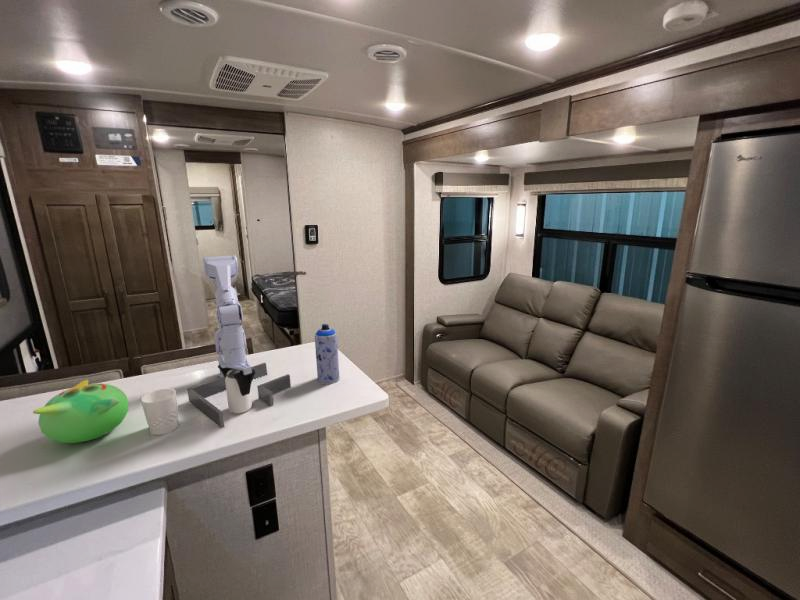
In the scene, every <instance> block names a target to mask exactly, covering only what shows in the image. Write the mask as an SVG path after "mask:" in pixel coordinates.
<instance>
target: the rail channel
mask: <svg viewBox="0 0 800 600" xmlns="http://www.w3.org/2000/svg"><path fill="white" fill-rule="evenodd" d="M252 369H253V370H255V375H254V377H253V379H255V380H257V379H259V378H258V377H260V378H263V377H265V375H266V376H267V375H268V370H267V363H266V362H262V363H260V364H257V365H253V366H251V370H252ZM262 376H263V377H262ZM256 378H257V379H256ZM253 379H252V381H254V380H253ZM291 385H292V383H291V376H290V374H289V373H287V374H285V375H282V376H279V377H278V378H275V379H272V380H269V381H267V382H263V383H261V384H259V385H256V387H257V395H258V400H260V401H261V402H262V403H265V404H266V405H268V406H269V407H272V406H274V397H273V396H274V395H276V394H279V393H281V392H283V391H286V390H287V389H290V388H292V386H291ZM224 390H225V391H226V383H225V377H218V378H216V379H213V380H209V381H206V382H204V383H201V384H199V385H194V386H192V387H189V388H186V391H187V396H188V402H189V403H190V404H191V405H192V406H194V408H196V409H197V410H198V411H199V412H200V413H202V414H203V415H204V416H206V418H207V419H209V420H210V421H212V422H213V423H214V424H215V425H216V426H218V428H220V429H222V427H223V428H225V420H224V413H223V411H222V410H221V409H220V408H218V407H216V406H215V405H214V404H212V403H211V402H210V401H209V400H207V399H206V398H209V397H211V396H214V395H217V394H220V393H222V392H225V391H224ZM219 392H220V393H219Z"/></svg>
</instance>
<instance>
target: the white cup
mask: <svg viewBox="0 0 800 600" xmlns="http://www.w3.org/2000/svg"><path fill="white" fill-rule="evenodd" d="M177 399H178V398H177V394H176V390H175V389H173V388H160V389H156V390H155V389H154V390H152V391H150V392H148V393H146V394H144V395H142V397H141V399H140V401H141V406H142V409H143V413H144V416H145V420H146V423H147V426H148V429H149V433H150V435H153V436H162V435H166V434H169V433H171V432H173V431H174V430H176V429H177V428H178V427H179V426H180V423H179V410H178V400H177Z"/></svg>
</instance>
